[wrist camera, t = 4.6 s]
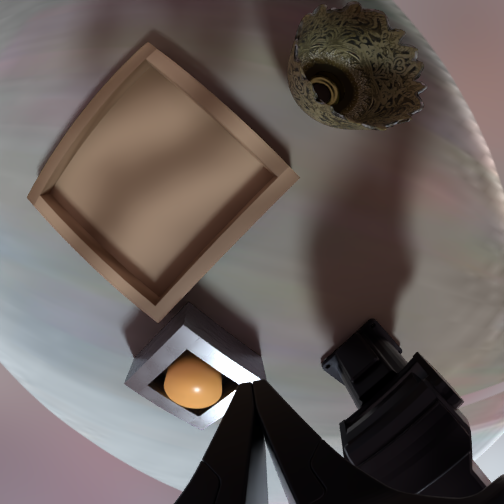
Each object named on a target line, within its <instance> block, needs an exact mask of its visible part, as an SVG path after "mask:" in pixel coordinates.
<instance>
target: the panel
mask: <svg viewBox="0 0 504 504" xmlns="http://www.w3.org/2000/svg"><path fill="white" fill-rule="evenodd" d="M186 349H188V350H189V351H190V352H192V353H193V354H195V355H196V356H197V357H199V358H200V359H202V360H203V361H205V362H206V363H208V364H209V365H210V366H212V367H213V368H215V369H216V370H218V371H219V372H221V373H222V394H221V397H220V399H219V400H218V401H217V402H216V403H215V404H213V405H211V406H209V407H205V408H198V409H195V408H187V407H184V406H181V405H179V404H177V403H175V402H174V401H172V400H171V399H170V398H169V397H168V395H167V394H166V392H165V389H164V382H165V378H166V373H167V369H168V366H169V365H170V364H171V363H172V362H173V361H174V360H176V359H177V358H178V357H179V356H180V355H181V354H182V353H183V352H184V351H185V350H186ZM260 379H265V380H266V375H265V371H264V366H263V361H262V357H260V356H259V355H258V354H256V353H255V352H253V351H252V350H251V349H249V348H248V347H247V346H245V345H244V344H242V343H241V342H240V341H238V340H237V339H236V338H234V337H233V336H232V335H230V334H229V333H228V332H226V331H225V330H224V329H223V328H221V327H220V326H219V325H217V324H216V323H215V322H213V321H212V320H211V319H210V318H208V317H207V316H206V315H205V314H203V313H202V312H201V311H200V310H198V309H197V308H196V307H195V306H193V305H192V304H191V303H190V302H188V303H187V304H186V305H185V306H184V307H183V308H182V309H181V310H180V311H179V312H178V314H177V315H176V316H175V317H174V318H173V319H172V320H171V321H170V322H169V323H168V324H167V325H166V326H165V327H164V328H163V329H162V330H161V331H160V332H159V333H158V334H157V335H156V336H155V337H154V338H153V339H152V341H151V342H150V343H149V344H148V345H147V346H146V347H145V348H144V349H143V350H142V351H141V352H140V353H139V354H138V355H137V356H136V357H135V358H134V360H133V363H132V365H131V368H130V370H129V373H128V375H127V378H126V380H125V383H124V384H125V385H127V386H128V387H129V388H131V389H132V390H134V391H135V392H137V393H138V394H140V395H141V396H143V397H145V398H146V399H148V400H149V401H151V402H152V403H154V404H156V405H157V406H159V407H161V408H162V409H164V410H166V411H167V412H169V413H171V414H173V415H174V416H176V417H178V418H180V419H181V420H183V421H185V422H187V423H189V424H191V425H193V426H194V427H196V428H198V429H200V430H203V429H204V428H206V427H207V426H209V425H210V424H212V423H213V422H215V421H216V420H218V419H219V418H221V417H222V416H224V414H225V412H226V410H227V408H228V406H229V404H230V402H231V400H232V397H233V395H234V393H235V391H236V389H237V387H238V385H239V384H240V383H245V382H253V381H255V380H260ZM266 381H267V380H266Z"/></svg>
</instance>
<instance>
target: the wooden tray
mask: <svg viewBox="0 0 504 504" xmlns="http://www.w3.org/2000/svg"><path fill="white" fill-rule="evenodd" d="M299 178H300V177H299V176H298V175H297V174H296V173H295V172H294V171H293V170H292V169H291V168H290V167H289V166H288V165H287V164H286V163H285V161H284V160H283V159H282V158H281V157H280V156H279V155H278V154H277V153H276V152H275V151H274V150H273V149H272V148H271V147H270V146H269V145H268V144H267V143H265V142H264V141H263V140H262V139H261V138H260V137H259V136H258V135H257V134H256V133H255V132H254V131H253V130H252V129H251V128H250V127H249V126H248V125H247V124H246V123H245V122H243V121H242V120H241V119H240V118H239V117H238V116H237V115H236V114H235V113H234V112H233V111H231V110H230V109H229V108H228V107H227V106H226V105H225V104H224V103H223V102H221V101H220V100H219V99H218V98H217V97H216V96H215V95H213V94H212V93H211V92H210V91H209V90H208V89H206V88H205V87H204V86H203V85H202V84H201V83H199V82H198V81H197V80H196V79H195V78H193V77H192V76H191V75H190V74H189V73H187V72H186V71H185V70H184V69H182V68H181V67H180V66H179V65H177V64H176V63H175V62H174V61H172V60H171V59H170V58H168V57H167V56H166V55H165V54H163V53H162V52H161V51H159V50H158V49H157V48H155V47H154V46H153V45H151V44H150V43H149V42H147V43H146V44H145V45H143V46H142V47H141V48H140V49H139V50H138V51H137V52H136V53H135V54H134V55H133V56H132V57H131V58H130V59H129V60H128V61H127V62H126V63H125V64H124V65H123V66H122V67H121V68H120V69H119V70H118V71H117V72H116V73H115V74H114V75H113V76H112V77H111V78H110V79H109V81H108V82H107V83H106V84H105V85H104V86H103V87H102V88H101V90H100V91H99V92H98V93H97V94H96V95H95V97H94V98H93V99H92V100H91V101H90V103H89V104H88V105H87V106H86V108H85V109H84V110H83V111H82V113H81V114H80V115H79V116H78V118H77V119H76V120H75V122H74V123H73V124H72V126H71V127H70V129H69V130H68V131H67V133H66V134H65V136H64V137H63V138H62V140H61V141H60V143H59V144H58V146H57V147H56V149H55V150H54V152H53V153H52V155H51V156H50V158H49V160H48V161H47V163H46V164H45V166H44V168H43V169H42V171H41V173H40V175H39V176H38V178H37V180H36V181H35V183H34V185H33V187H32V189H31V191H30V192H29V194H28V196H27V198H28V200H29V201H30V202H31V203H32V204H33V205H34V207H35V208H36V209H37V210H38V211H39V212H40V213H41V214H42V216H43V217H44V218H45V219H46V220H47V221H48V222H49V223H50V224H51V225H52V227H53V228H54V229H55V230H56V231H57V232H58V233H59V234H60V235H61V236H62V237H63V238H64V239H65V240H66V241H67V242H68V243H69V244H70V245H71V246H72V247H73V248H74V249H75V250H76V251H77V252H78V253H79V254H80V255H81V256H82V257H83V258H84V259H85V260H86V261H87V262H88V263H89V264H90V265H91V266H92V267H93V268H94V269H95V270H96V271H97V272H99V273H100V274H101V275H102V276H103V277H104V278H105V279H106V280H107V281H108V282H109V283H111V284H112V285H113V286H114V287H115V288H116V289H117V290H118V291H120V292H121V293H122V294H123V295H124V296H125V297H127V298H128V299H129V300H130V301H131V302H132V303H134V304H135V305H136V306H137V307H138V308H140V309H141V310H142V311H143V312H144V313H146V314H147V315H148V316H149V317H151V318H152V319H153V320H154V321H156V322H157V323H159V322H160V321H161V320H162V319H163V318H164V317H165V316H166V315H167V314H168V313H169V312H170V311H171V309H172V308H173V307H174V306H175V305H176V304H177V303H178V302H179V301H180V300H181V299H182V298H183V297H184V296H185V295H186V294H187V293H188V292H189V291H190V289H191V288H192V287H193V286H194V285H195V284H196V283H197V282H198V281H199V280H200V279H201V278H202V277H203V276H204V275H205V274H206V273H207V272H208V271H209V270H210V269H211V268H212V267H213V266H214V264H215V263H216V262H217V261H218V260H219V259H220V258H221V257H222V256H223V255H224V254H225V253H226V252H227V251H228V250H229V249H230V248H231V247H232V246H233V245H234V244H235V243H236V242H237V241H238V240H239V239H240V238H241V237H242V236H243V235H244V234H245V233H246V232H247V231H248V230H249V229H250V228H251V227H252V225H253V224H254V223H255V222H256V221H257V220H258V219H259V218H260V217H261V216H262V215H263V214H264V213H265V212H266V211H267V210H268V209H269V208H270V207H271V206H272V205H273V204H274V203H275V202H276V201H277V200H278V199H279V198H280V197H281V196H282V195H283V194H284V193H285V192H286V191H287V190H288V189H289V188H290V187H291V186H292V185H293V184H294V183H295V182H296V181H297V180H298V179H299Z"/></svg>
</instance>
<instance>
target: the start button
mask: <svg viewBox="0 0 504 504" xmlns="http://www.w3.org/2000/svg"><path fill="white" fill-rule="evenodd" d="M164 389H165V392H166V394H167V395H168V397H169V398H170V399H171V400H172V401H174V402H175V403H177V404H179V405H181V406H184V407H187V408H195V409H198V408H205V407H209V406H211V405H213V404H215V403H216V402H217V401H218V400H219V399H220V397H221V394H222V373H221V372H219V371H218V370H216V369H215V368H213V367H212V366H210V365H209V364H208V363H206V362H205V361H203V360H202V359H200V358H199V357H197V356H196V355H195V354H193V353H192V352H190V351H189V350H188V349H186V350H185V351H184V352H183V353H182V354H181V355H180V356H179V357H178V358H177V359H176V360H174V361H173V362H172V363H171V364H170V365H169V366H168V369H167V373H166V378H165V382H164Z"/></svg>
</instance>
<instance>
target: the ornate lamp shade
mask: <svg viewBox="0 0 504 504" xmlns="http://www.w3.org/2000/svg"><path fill="white" fill-rule="evenodd" d="M405 34H406V32H404V31H403V30H401V29H394V30H392V28H391V27H390V26H389V20H388V18H387V16H386V15H385V13H384V12H382V11H379V10H375V9H362V6H361V4H360V3H358V2H356V1H353V2H349V3H348V4H347V5H346V6H345V7H344V8H342V9H336V8H332V9H330V10H327V5H325V4H322V5H319V6H318V7H317V8H316V9H315V10H314V11H313V13H308V14H307V15H305V16H304V17H303V19H302V20H301V22H300V25H299V27H298V30H297V33H296V37H295V40H294V44H293V47H292V50H291V54H290V58H289V62H288V73H287V76H288V83H289V88H290V91H291V93H292V95H293V97H294V99H295V101H296V102H297V104H298V105H299V106H300V108H301V109H302V110H303V111H304V112H305V113H306V114H307V115H309V116H310V117H311V118H313V119H314V120H316V121H318V122H320V123H322V124H325V125H327V126H330V127H334V128H340V129H353V130H387V128H388V127H393V126H394V125H395V124H399V123H404V122H408V121H410V120H412V118H411V116H412V115H414V114H416V113H418V112H420V111H421V110H422V109H423V106H424V104H423V102H422V100H421V98H420V97H419V94H420V93H422V92H423V91H424V90H426V89H427V85H426V84H424V83H423V82H422V81H421V82H419V81H416V79H418V78H419V77H420V73H421V72H422V70H423V67H424V65H423V63H422V62H420V61H417V60H416V59H417V55H418V49H417V48H415V47H414V46H411V45H407V44H401V41H402V39H403V37H404V36H406V35H405ZM402 42H403V41H402ZM314 84H323V85H325V86H326V87H327V88H328V89H329V91H330V99H329V101H328V102H326V103H325V102H323V101H322V100H321V99H319V98H318V95H317V94H316V92H315V91H314V88H313V85H314Z"/></svg>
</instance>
